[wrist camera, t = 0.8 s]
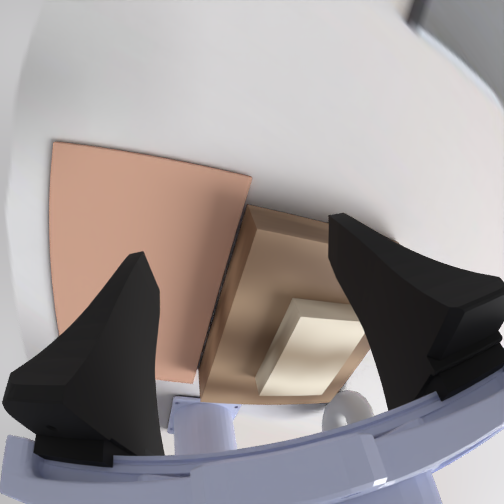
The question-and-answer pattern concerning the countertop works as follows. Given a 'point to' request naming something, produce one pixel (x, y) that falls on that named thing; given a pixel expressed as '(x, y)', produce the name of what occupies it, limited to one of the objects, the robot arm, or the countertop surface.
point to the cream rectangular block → (309, 348)
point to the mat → (143, 238)
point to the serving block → (268, 305)
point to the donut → (345, 410)
